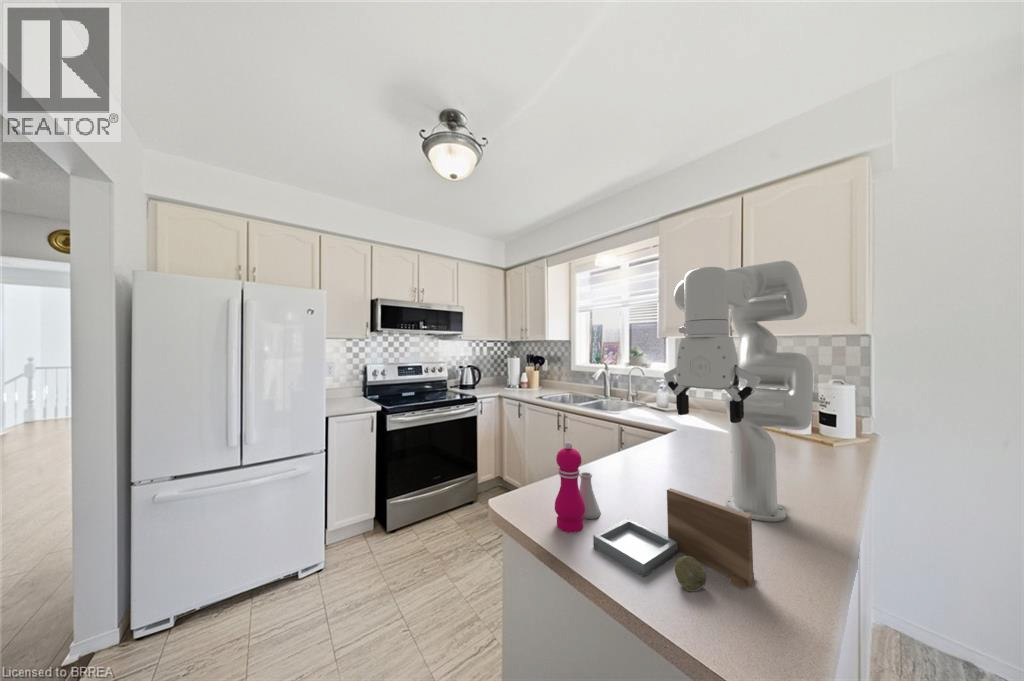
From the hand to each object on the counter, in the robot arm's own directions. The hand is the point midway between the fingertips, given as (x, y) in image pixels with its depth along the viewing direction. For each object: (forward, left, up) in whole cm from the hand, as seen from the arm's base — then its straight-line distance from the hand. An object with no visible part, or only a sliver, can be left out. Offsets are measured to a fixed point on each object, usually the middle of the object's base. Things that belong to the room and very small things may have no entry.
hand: (708, 418), depth 65 cm
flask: (+3, -29, -29) cm, 41 cm away
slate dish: (+7, -12, -29) cm, 32 cm away
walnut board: (0, -1, -29) cm, 29 cm away
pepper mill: (+11, -27, -29) cm, 41 cm away
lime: (+9, 0, -29) cm, 30 cm away
